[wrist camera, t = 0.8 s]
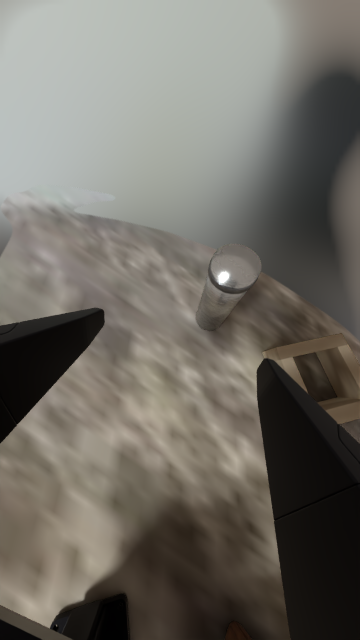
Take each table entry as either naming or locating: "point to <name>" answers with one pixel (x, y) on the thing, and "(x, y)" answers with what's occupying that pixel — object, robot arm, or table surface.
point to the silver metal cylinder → (226, 283)
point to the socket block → (327, 372)
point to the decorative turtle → (236, 632)
